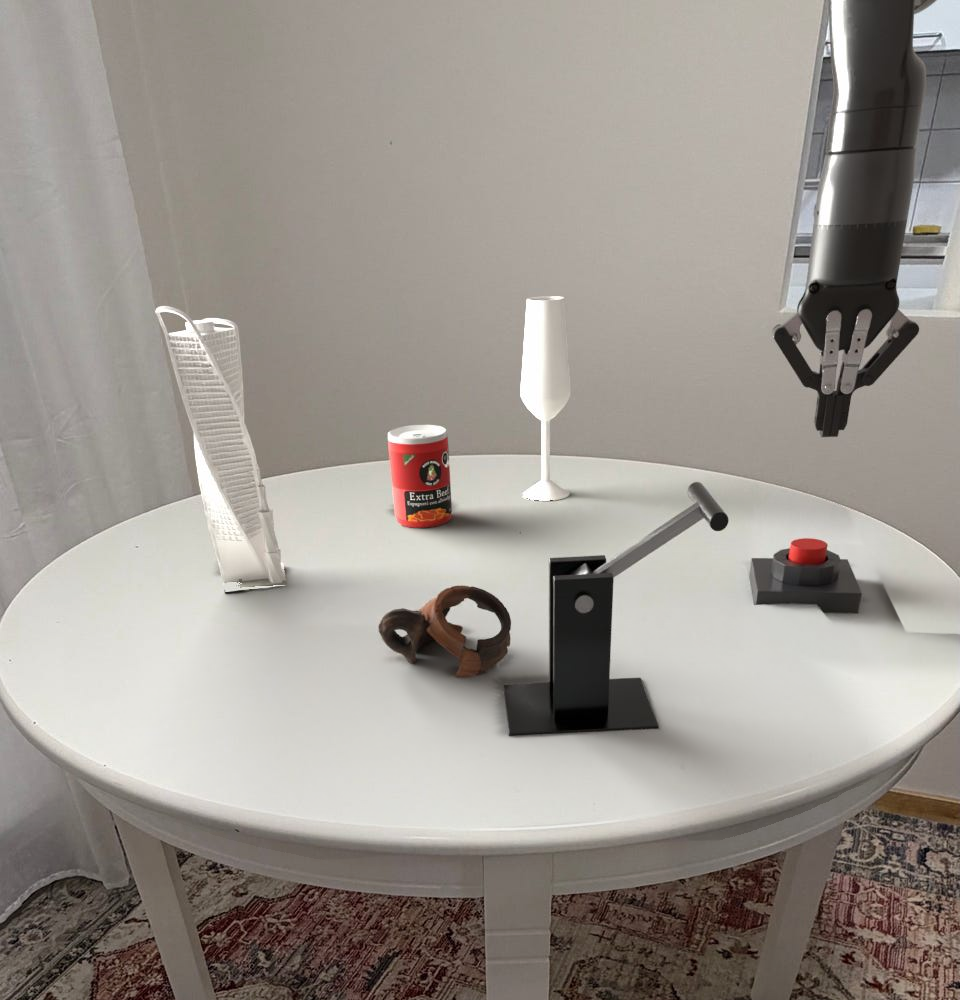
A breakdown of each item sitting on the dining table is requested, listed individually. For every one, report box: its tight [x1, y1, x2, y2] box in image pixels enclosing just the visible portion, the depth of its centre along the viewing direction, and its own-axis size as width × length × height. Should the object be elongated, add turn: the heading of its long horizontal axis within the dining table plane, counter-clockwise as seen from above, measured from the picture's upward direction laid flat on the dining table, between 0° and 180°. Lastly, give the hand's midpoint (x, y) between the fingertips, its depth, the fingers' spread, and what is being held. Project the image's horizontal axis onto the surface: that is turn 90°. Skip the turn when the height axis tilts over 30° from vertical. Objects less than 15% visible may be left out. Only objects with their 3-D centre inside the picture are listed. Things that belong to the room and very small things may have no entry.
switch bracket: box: [503, 554, 660, 737], centre depth 76 cm, size 12×9×13 cm
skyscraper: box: [155, 305, 287, 588], centre depth 103 cm, size 8×8×28 cm
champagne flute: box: [519, 295, 572, 502], centre depth 127 cm, size 7×7×24 cm
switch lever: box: [568, 481, 730, 578], centre depth 72 cm, size 13×8×2 cm
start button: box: [788, 537, 828, 565], centre depth 97 cm, size 4×4×2 cm
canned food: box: [387, 424, 453, 529], centre depth 124 cm, size 8×8×11 cm
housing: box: [748, 547, 863, 614], centre depth 99 cm, size 10×10×4 cm
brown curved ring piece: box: [378, 585, 512, 678], centre depth 87 cm, size 12×10×8 cm
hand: (828, 435), depth 91 cm, fingers closed
